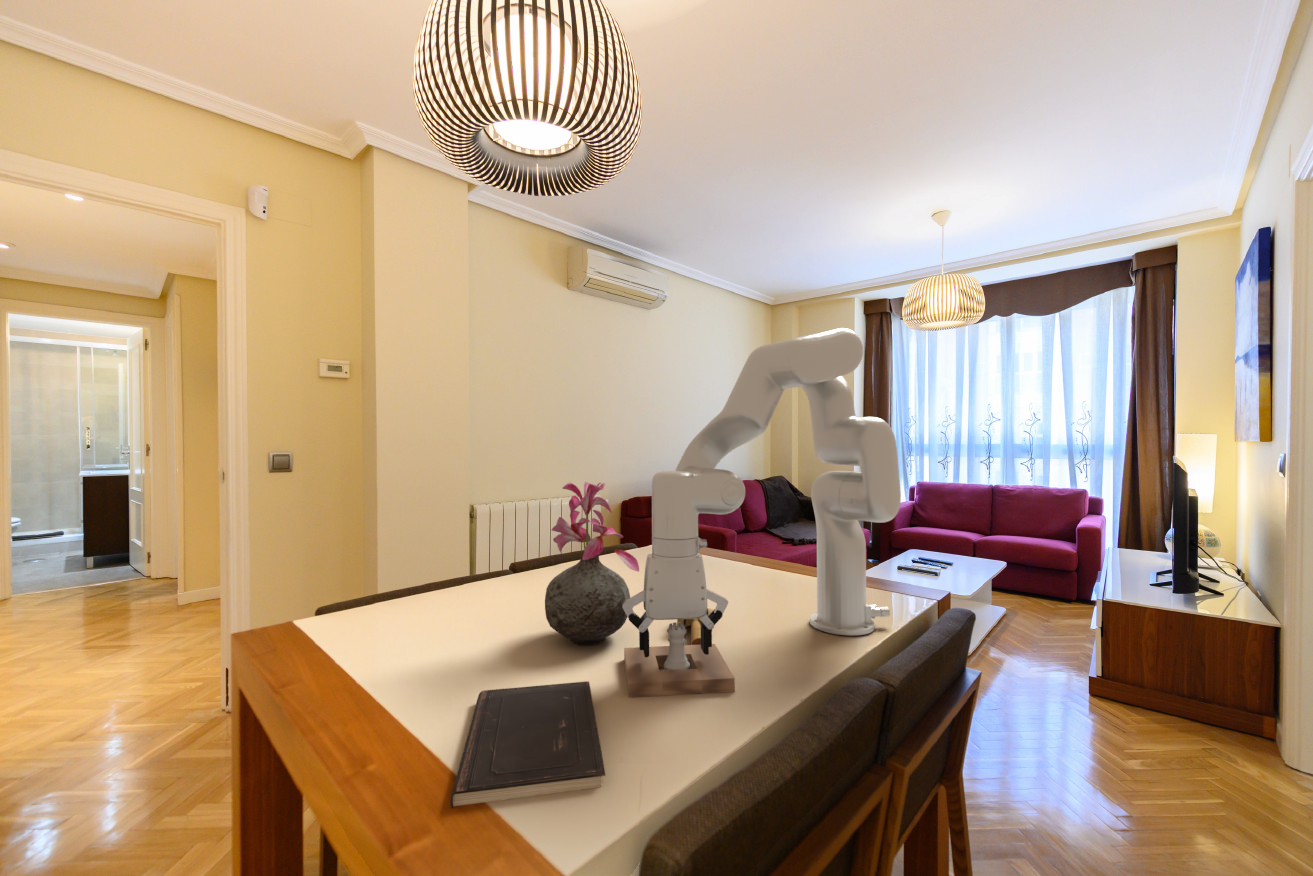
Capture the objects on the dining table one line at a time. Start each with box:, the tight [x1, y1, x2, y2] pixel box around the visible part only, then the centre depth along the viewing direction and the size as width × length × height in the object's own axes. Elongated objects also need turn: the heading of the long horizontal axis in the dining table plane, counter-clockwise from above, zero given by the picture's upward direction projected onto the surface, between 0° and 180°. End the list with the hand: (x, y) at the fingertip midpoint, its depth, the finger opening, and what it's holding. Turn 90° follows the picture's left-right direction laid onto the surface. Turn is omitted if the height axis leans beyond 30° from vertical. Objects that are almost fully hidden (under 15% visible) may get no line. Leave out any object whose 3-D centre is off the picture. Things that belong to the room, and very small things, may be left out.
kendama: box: [676, 607, 714, 645], centre depth 105 cm, size 8×6×18 cm
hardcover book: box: [450, 681, 606, 809], centre depth 68 cm, size 16×23×2 cm
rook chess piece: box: [663, 621, 691, 670], centre depth 88 cm, size 4×4×8 cm
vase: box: [544, 481, 640, 646], centre depth 104 cm, size 17×17×30 cm
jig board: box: [623, 643, 736, 698], centre depth 88 cm, size 16×14×2 cm
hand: (675, 652), depth 88 cm, fingers open, 9 cm apart
